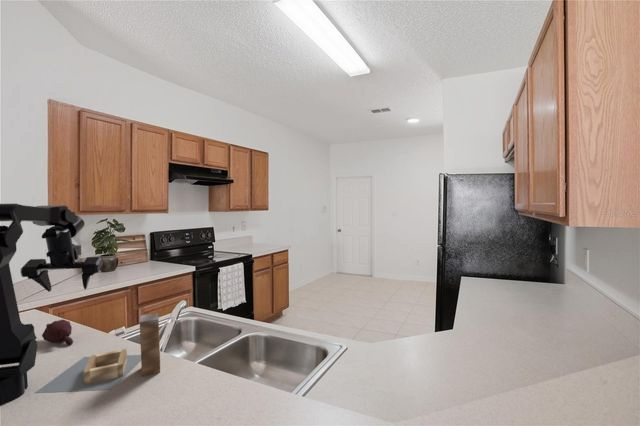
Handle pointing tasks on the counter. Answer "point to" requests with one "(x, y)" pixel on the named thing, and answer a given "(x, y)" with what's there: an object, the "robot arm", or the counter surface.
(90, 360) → the socket
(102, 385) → the board
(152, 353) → the post
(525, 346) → the counter surface
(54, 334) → the maroon bulbous piece
